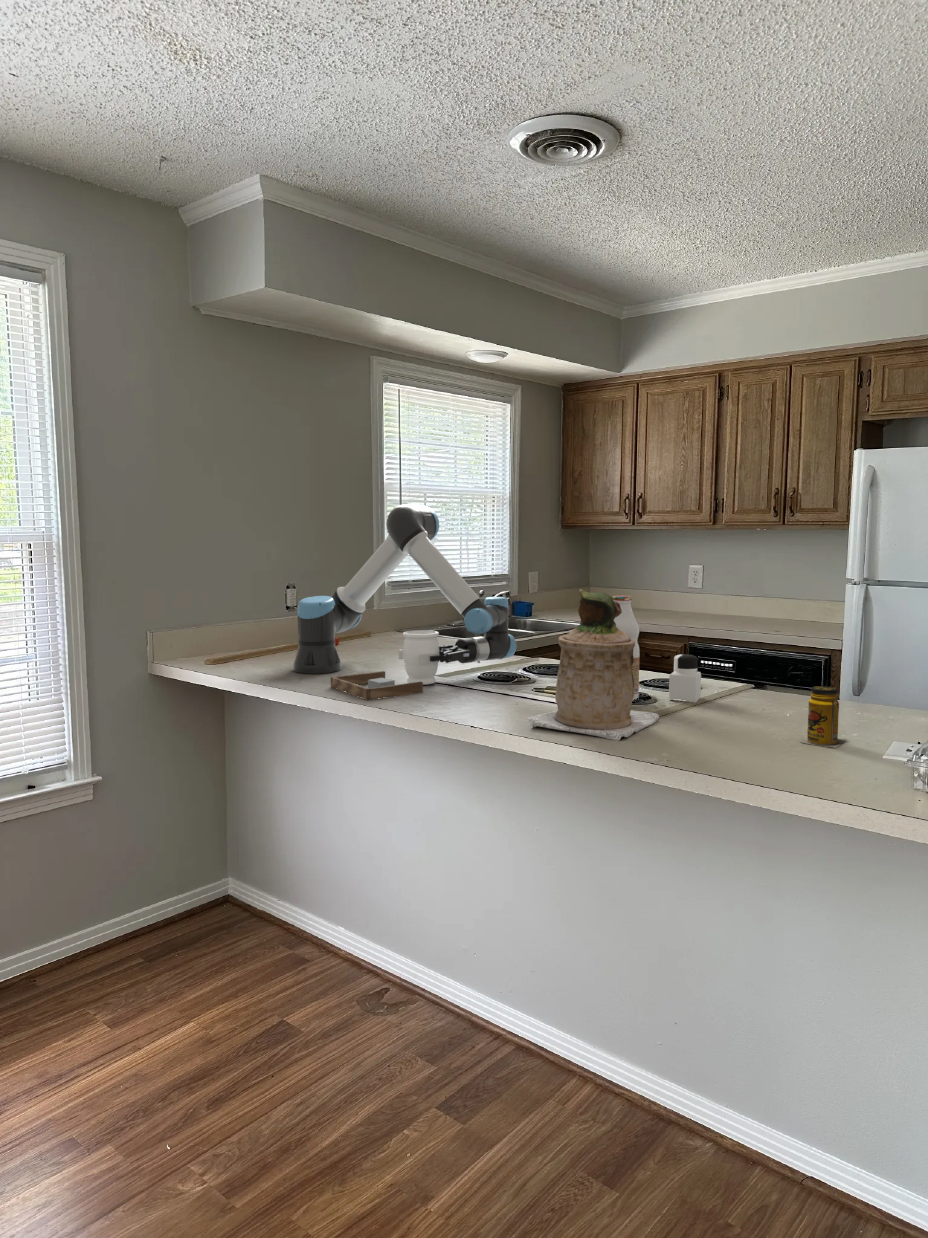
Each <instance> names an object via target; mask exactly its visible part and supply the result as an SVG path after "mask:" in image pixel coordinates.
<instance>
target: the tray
mask: <svg viewBox="0 0 928 1238" xmlns="http://www.w3.org/2000/svg"><path fill="white" fill-rule="evenodd" d="M377 678H386V671H385V670H382V671H380V670H379V671H373V672H372V671H371V672H364V673H356V674H346V675H339V676H330V688H331V687H333V688H332V689H334V688H337V689H339V690H342V691H346V692H347V693H346V694H348V693H350V694H349V695H351V694H353V695H352V696H354V695H355V696H354V697H356V696H359V697H362V698H364V699H363V700H365V699H367V700H366V701H370V700H369V699H375V700H379V699H378V698H382V699H384V698H383V697H389V698H395V697H394V696H396V697H402V696H410V695H417V694H422V693H423V692H424V685H423V682H414V683H408V682H407V683H401V684H395V685H391V686H384V687H376V688H368V687H365V686H363V685H367V684H366V683H368V680H370V679H377ZM357 684H360V685H357ZM337 689H336V690H337ZM339 690H338V691H339ZM342 691H341V692H342ZM359 697H358V698H359ZM362 698H361V699H362Z"/></svg>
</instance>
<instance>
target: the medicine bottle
mask: <svg viewBox="0 0 928 1238" xmlns="http://www.w3.org/2000/svg"><path fill="white" fill-rule="evenodd" d="M668 681H669V683H668V685H669V686H668V699H669V698H670V699H681V700H686V701H690V702H689V703H692V702H693V703H692V704H695V703H697V702H698V701H699V700H700V699H701V694H702V693H701V692H702V691H701V690H702V688H701V685H702V684H701V683H702V673H701V671H698V657H697V656H696V655H693V654H684V653H683V654H681V653H680V654H677V655H675V656H674V657H673V672H671V673H669V680H668Z"/></svg>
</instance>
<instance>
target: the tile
mask: <svg viewBox="0 0 928 1238" xmlns="http://www.w3.org/2000/svg"><path fill="white" fill-rule="evenodd" d="M395 683H396V681H395V680H393V679H389V678H386V677H385V678H377V679H370V680H368V684H367V688H376V687H384V686H391V685H396V684H395Z"/></svg>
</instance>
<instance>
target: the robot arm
mask: <svg viewBox="0 0 928 1238" xmlns="http://www.w3.org/2000/svg"><path fill="white" fill-rule="evenodd" d="M385 524H386V526H385V527H386V531H387V534H388V535H387V537H386V538H385V540H384V541H383V542H382V543H381V544H380V546H379V547H378V548H377V549H376V550H375V551H374V553H373V554H372V555H371V556H370V557H369V558H368V560H366V562H365V563H364V564H363V565H362V567H361V568H360V569H359V570H358V571H357V572H356V573H355V574H354V576H353V577H352V578H351V579H350V580H349V582H348V583H347V584H346V585H345V586H339V587H337V588H336V590H335V591H334V592H333V593H332V594H331V595H330V596H329V595H314V596H309V597H304V598H302V599H301V600H299V601H298V602H297V603H298V604H297V612H296V615H297V634H298V635H297V636H298V637H297V639H298V648H297V651H296V655H295V658H294V661H293V671H294V672H295V673H299V674H310V675H311V674H315V675H316V674H327V673H335V672H339V671H341V669H342V662H341V659H340V657H339V653H338V649H337V647H336V634H339V633H345V632H348V631H351V630H352V629H354V628H355V627H357V626H358V625H359V623H360V622H361V620H362V617H363V613H365V610H366V603H367V602H368V601H369V600H370V599H371V598H372V596H373V595H374V594H375V593H376V592H377V590H378V589H379V588H380V587H381V586H382V584H383V583H385V581H386V580H387V579H388V578H389V577H390V575H391V574H392V573H394V571H395V570H396V569H397V567H398V566H399V565H400V564H402V562H403V560H405V558H406V557H407V556H408V555H409V556H410V557H411V558H412V560H413V561H414V562H415V563H416V564H417V566H418V567H419V568H420V569H421V570H422V571H423V572H424V574H425V575H426V576H427V577H428V578H429V580H430V581H431V582H432V583H433V584H434V585H435V586H436V587H437V589H439V590H438V591H440V592H441V594H443V596H444V597H445V598H446V599H447V600H448V601H449V602H450V604H451V605H452V606H453V607H454V609H456V610H457V612H458V613H459V614H460V615H461V616H462V618H463V619H464V620H463V621H464V626H465V628H466V630H467V631H468V632H469V633H471V634H474V635H479V634H483V636H474V637H465V638H459V639H458V640H456V642H455V644H448V645H445V644H441V645H439V653H429V654H420V655H418V656H419V664H427V663H436V662H438V663H444V662H445V663H446V664H448V663H453V662H458V663H460V664H470V663H477V664H480V663H481V661H482V662H483V661H492V660H503V659H508V658H511V657H512V656H513V655H515V652H516V650H517V642H516V640H515V639H516V638H515V637H514V636H513V635H512V634H510V633H509V610H510V609H509V600H508V598H507V597H505V596H489V597H488V596H487V597H485V599H483V600H484V601H483V600H482V599H481V598H480V596H479V595H477V593H476V591H474V590H473V588H472V587H471V586H470V585H469V584H468V583H467V581H465V579H464V578H463V577H462V576H461V575H460V573H458V571H457V570H456V569H455V568H454V567H453V565H452V564H451V563H450V562H449V561H448V560H447V558H446V557H445V556H444V555H443V554H442V553H441V551H439V549H438V548H437V547H436V546H435V545H434V544H433V542H432V540H433V539H435V537H436V536H437V535H438V533H439V531H440V519H439V517H438V514H437V513H436V512H435V510H433V509H432V508H431V507H429V506H426V505H424V504H399V505H398V506H396V507H394V508H392V510H391V511H390V513H388V516H387V518H386V523H385ZM398 659H399V660H404V657H403V649H398ZM334 671H335V672H334Z"/></svg>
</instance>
